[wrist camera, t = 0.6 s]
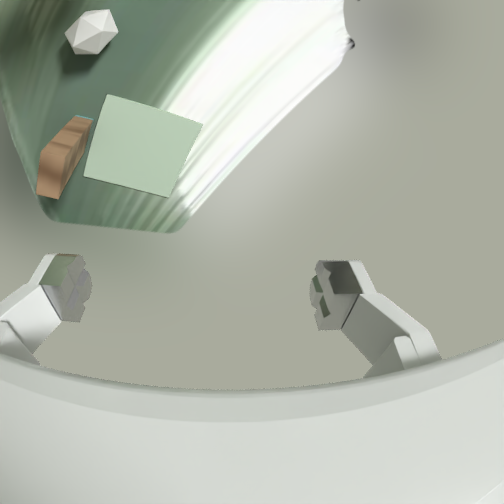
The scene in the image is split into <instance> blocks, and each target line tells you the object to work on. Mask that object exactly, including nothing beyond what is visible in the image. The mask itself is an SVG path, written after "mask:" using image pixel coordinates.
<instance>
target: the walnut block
mask: <svg viewBox="0 0 504 504" xmlns="http://www.w3.org/2000/svg"><path fill="white" fill-rule="evenodd" d="M93 120H94V119H91V118H87V117H82V116H78V115H75V116H74V117H73V118H72V119H71V120H70V121H69V122H68V123H67V124H66V125H65V126H64V127H63V128H62V129H61V130H60V131H59V132H58V134H57V135H56V136H55V137H54V138H53V139H52V140H51V141H50V142H49V143H48V144H47V146H46V147H45V148H44V149H43V150H42V151H41V155H40V162H39V170H38V179H37V190H36V194H38V195H42V196H46V197H51V198H55V199H59V197H60V195H61V193H62V191H63V189H64V187H65V185H66V183H67V182H68V180H69V178H70V176H71V174H72V172H73V171H74V169H75V167H76V165H77V164H78V162H79V160H80V158H81V157H82V155H83V153H84V152H85V149H86V145H87V141H88V137H89V134H90V130H91V127H92V124H93Z"/></svg>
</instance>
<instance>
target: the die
mask: <svg viewBox="0 0 504 504" xmlns="http://www.w3.org/2000/svg"><path fill="white" fill-rule="evenodd" d="M117 33H118V30H117V27H116V25H115V23H114V20H113V18H112V15H111V13H110V10H95V11H85V12H84V13H83V14H82V15H81V16H80V17H79V18H78V19H77V20H76V21H75V23H74V24H73V25H72V26H71V27H70V28H69V29H68V30H67V31H66V32H65V35H66V37H67V39H68V41H69V43H70V45H71V47H72V49H73V51H74V53H75V54H98V53H99V52H100V51H101V50H102V49H103V48H104V47H105V46H106V44H107V43H108V42H109V41H110V40H111V39H112V38H113V37H114V36H115V35H116V34H117Z"/></svg>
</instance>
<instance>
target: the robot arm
mask: <svg viewBox="0 0 504 504" xmlns="http://www.w3.org/2000/svg"><path fill="white" fill-rule="evenodd" d="M84 266H85V261H84V259H83V257H82V256H80V255H73V254H53V253H48V254H46V255H45V256H44V258H43V259H42V261H41V262H40V264H39V266H38V267H37V269H36V270H35V272H34V274H33V275H32V277H31V279H30V281H29V282H28V284H24V285H22V286H21V287H20V288H18V289H17V290H16V291H14V292H13V293H12V294H10V295H9V296H8V297H7V298H6V299H4V300H3V301H2V302H0V504H504V339H501V340H497V341H495V342H493V343H490V344H487V345H485V346H482V347H479V348H477V349H474V350H471V351H468V352H465V353H462V354H459V355H456V356H453V357H450V358H447V359H443V360H442V358H441V356H440V354H439V352H438V349H437V347H436V345H435V343H434V341H433V339H432V336H431V334H430V332H429V331H428V330H427V329H426V328H425V327H423V326H422V325H421V324H420V323H418V322H417V321H416V320H415V319H413V318H412V317H411V316H410V315H408V314H407V313H406V312H404V311H403V310H402V309H400V308H399V307H398V306H397V305H395V304H394V303H393V302H391V301H390V300H389V299H388V298H386V297H385V296H384V295H382V294H381V293H377V292H376V290H375V288H374V286H373V284H372V282H371V280H370V278H369V276H368V274H367V272H366V270H365V268H364V266H363V264H362V262H361V261H359V260H346V261H344V260H343V261H340V260H339V261H338V260H329V261H328V260H319V261H318V263H317V264H316V268H315V271H316V274H317V275H316V276H315V277H314V278H312V281H311V284H310V300H311V304H312V305H313V306H314V307H315V308H316V309H317V310H316V312H315V318H316V322H317V326H318V329H319V330H338V329H342V330H341V331H342V332H343V333H344V334H345V335H346V336H347V338H348V339H349V340H350V341H351V342H352V343H353V344H354V345H355V346H356V347H357V348H358V349H359V351H360V352H361V353H362V354H363V355H364V356H365V357H366V358H367V359H368V360H369V361H370V363H371V364H372V365H373V366H372V367H371V368H370V370H369V371H368V372H367V373H366V374H365V376H364V377H363V378H362V379H356V380H350V381H343V382H336V383H329V384H321V385H311V386H301V387H289V388H275V389H274V388H273V389H250V390H211V389H185V388H169V387H158V386H148V385H138V384H131V383H123V382H116V381H110V380H104V379H98V378H92V377H87V376H81V375H77V374H72V373H68V372H63V371H59V370H55V369H51V368H47V367H43V366H40V363H39V361H37V359H36V358H35V357H34V356H33V355H32V354H33V353H34V352H35V350H36V349H37V348H38V347H39V346H40V345H41V343H42V342H43V341H44V340H45V339H46V338H47V337H48V336H49V335H50V334H51V332H52V331H53V330H54V329H55V328H56V327H57V326H58V325H59V324H60V323H61V321H71V322H80V320H81V317H82V315H83V312H84V310H85V306H84V302H85V301H86V300H88V299H89V297H90V294H91V289H92V282H91V277H90V274H89V273H88V272H87V271H86V270H85V269H84Z"/></svg>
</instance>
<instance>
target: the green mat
mask: <svg viewBox="0 0 504 504" xmlns="http://www.w3.org/2000/svg"><path fill="white" fill-rule="evenodd" d="M202 126H203V124H201V123H198V122H196V121H193V120H190V119H187V118H184V117H181V116H179V115H176V114H173V113H170V112H167V111H164V110H161V109H158V108H154V107H151V106H148V105H145V104H141V103H138V102H135V101H131V100H128V99H124V98H120V97H117V96H113V95H109V94H107V96H106V99H105V102H104V104H103V107H102V110H101V113H100V116H99V119H98V123H97V126H96V129H95V132H94V136H93V139H92V143H91V147H90V150H89V154H88V158H87V162H86V167H85V171H84V176H85V177H89V178H93V179H98V180H102V181H106V182H110V183H114V184H118V185H122V186H126V187H129V188H133V189H137V190H141V191H145V192H149V193H152V194H156V195H160V196H164V197H167V198H169V197H170V194H171V192H172V190H173V187H174V185H175V183H176V180H177V178H178V176H179V174H180V171H181V169H182V167H183V165H184V163H185V161H186V158H187V156H188V154H189V152H190V150H191V148H192V146H193V144H194V142H195V140H196V138H197V136H198V134H199V132H200V130H201V128H202Z"/></svg>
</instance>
